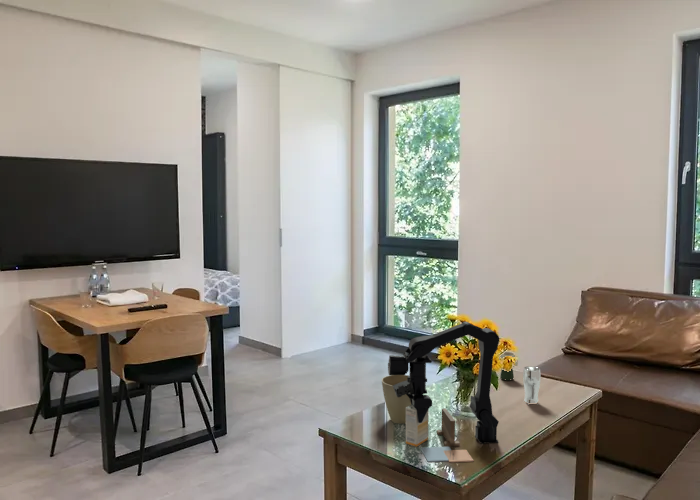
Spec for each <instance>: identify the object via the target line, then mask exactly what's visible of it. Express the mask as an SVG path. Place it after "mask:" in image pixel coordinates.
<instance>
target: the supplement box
mask: <svg viewBox="0 0 700 500" xmlns="http://www.w3.org/2000/svg"><path fill="white" fill-rule="evenodd" d="M429 423H430V422H429V410H428V411H427V413H426V415H425V417H424V419H423V421H422V423H419V422H418V417H417V411H416V408H414V407H413V405H410V406H408V407H406V423H405V444H406V445H409V446H412V447H418V446H420V445H422V444H423V443H425V442H426V441H428V440H429Z"/></svg>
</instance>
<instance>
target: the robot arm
mask: <svg viewBox="0 0 700 500" xmlns="http://www.w3.org/2000/svg"><path fill="white" fill-rule="evenodd" d="M465 336H469V337H472V338H473V339H476V340H477V341H478V349H479V354H480V356H479V363H478V365H479V366H478V380H477V386H476V392H475V395H474V396H473V395H470V404H469V408H470V410H471V412H472V414H473V415H474V416H475V418H476V419H477V421H476V425H475V427H474V428H475V431H474V434H475V435H474V437H475V438H476V439H477V441H478V442H479V444H495V443H496V444H497V443H499V440H498V439H497V432H498V431H497V429H498V428H497V427H498V425H499V419H498V418H496V416H494V414H493V408H492V406H493V405H492V401H491V396H490V394H491V393H490V392H491V384H492V373H493V363H494V356H495V354H496V352H497V350H498V347H499V345H500V337H499V335H498V334H497V333H496V332H495V331H493V330H492V329H490V328H488V327H483V328H482V327H479V326H478V325H474V324H472V323H470V322H469V321H463V322H462V323H459V324H457V325H454V326H452V327H449V328H447V329H444V330H442V331H438V332H436V333H433V334H431V335H422V336H416V337H413V338H411V339H410V340H409V342H408V347H407V348H406V349H405V351H404V352H403V353H402V355H394V354H391V355H390V354H389V355H388V356H389V357H388V362H387V372H388V376H390V375H407V374H408V373H409V376H408V377H407V380H406V381H403V382H400V383H398V384H395V385H393V388H394V391H395V394H396V396H397V397H401V396H403V395H405V394H406V395H407V396H408V397H409V398H410V402H411V405H413V407H414V408H416V411H417V417H418V422H419V423H422V421H423V419H424V417H425V415H426V413H427V411H428V410H429V409H430V408H431V407H433V400H432V398H431V397H430V396H429V394H428V390H427V389H426V388H427V387H426V385H427V383H428V378H427V363H428V364H431V363H433V362H432V360H431V358H430V357H429V356H428V354H431V352H433V350H435V349H436V348H438V347H440V346H442V345H446V344H448V343H450V342H453V341H456V340H458V339H461V338H464V337H465Z"/></svg>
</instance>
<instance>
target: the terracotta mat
mask: <svg viewBox="0 0 700 500" xmlns="http://www.w3.org/2000/svg"><path fill="white" fill-rule="evenodd" d="M448 451H449V452H448ZM448 451H447V450H446V452H447V453H446V452H445V451H444V453H445V455H446V456H448V455H450V451H451V456H450V457H449V456H448V457H447V458H448V459H449V461H448V462H449V463H465V462H466V463H467V462H469V463H470V462H474V459H473V457H472V456H471V455H470V453H469V452H468V450H467V449H451V450H448ZM448 453H449V454H448ZM453 454H454V456H455V457H454V456H453ZM453 457H454V458H453Z"/></svg>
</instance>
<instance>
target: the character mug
mask: <svg viewBox="0 0 700 500" xmlns="http://www.w3.org/2000/svg"><path fill="white" fill-rule="evenodd" d="M504 352H505V353H504V354H502V355H501V356H500V357H501V358H503V357H505V356H512V357H515V358H516V353H514V352H512V351H511V352H510V351H504ZM500 357H499V358H500ZM515 364H516V365H515V366H513V368H515V367H516V366H517V367H518V364H519V360H518V359H517V362H516V361H515ZM513 368H512V369H511V371H509V372H507V371H504V370H502V369H501V370H500V379H501V378H502V379H506V380H505V381H511V380H510V379H513V378H514V375H515V374H514V370H513ZM502 379H501V380H502ZM514 379H515V378H514Z"/></svg>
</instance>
